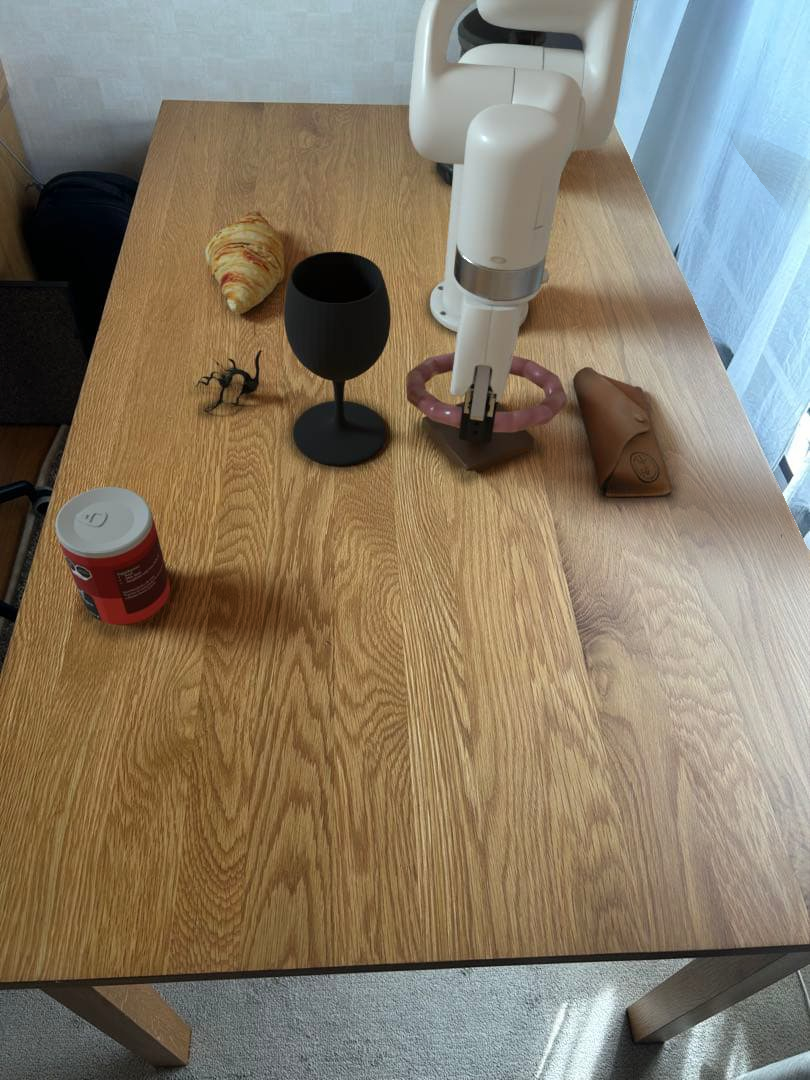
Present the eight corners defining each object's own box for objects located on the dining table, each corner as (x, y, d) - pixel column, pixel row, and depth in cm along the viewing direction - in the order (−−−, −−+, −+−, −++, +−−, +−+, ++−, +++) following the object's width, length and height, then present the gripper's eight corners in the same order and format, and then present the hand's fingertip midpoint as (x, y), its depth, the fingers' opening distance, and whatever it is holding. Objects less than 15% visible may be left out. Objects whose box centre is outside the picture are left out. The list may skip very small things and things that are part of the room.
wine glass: (399, 416, 102) (406, 260, 87) (367, 477, 95) (369, 320, 80) (314, 393, 104) (307, 237, 89) (277, 452, 97) (262, 294, 82)
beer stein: (485, 135, 147) (504, -38, 128) (575, 182, 139) (610, 4, 120) (411, 166, 140) (420, -14, 121) (501, 218, 131) (526, 33, 112)
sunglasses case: (678, 493, 95) (660, 454, 90) (615, 517, 97) (594, 480, 93) (640, 383, 107) (623, 344, 102) (584, 407, 109) (565, 369, 104)
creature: (189, 419, 102) (254, 418, 100) (172, 381, 98) (239, 379, 96) (213, 375, 107) (275, 374, 105) (197, 338, 103) (261, 336, 101)
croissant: (264, 344, 115) (291, 299, 109) (189, 312, 111) (212, 263, 105) (275, 250, 128) (299, 205, 123) (208, 218, 124) (230, 170, 119)
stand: (486, 402, 104) (496, 334, 97) (533, 449, 99) (547, 381, 92) (421, 427, 101) (426, 359, 94) (466, 477, 96) (475, 410, 89)
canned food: (90, 566, 86) (61, 487, 78) (175, 563, 87) (155, 484, 78) (78, 632, 81) (46, 555, 73) (168, 628, 82) (147, 551, 74)
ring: (463, 450, 86) (465, 431, 84) (377, 382, 97) (377, 364, 96) (596, 414, 93) (599, 396, 92) (501, 354, 104) (503, 338, 103)
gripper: (466, 211, 81) (449, 374, 95) (441, 315, 70) (427, 480, 84) (549, 222, 80) (520, 384, 94) (537, 328, 70) (506, 492, 84)
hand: (476, 428), depth 89 cm, fingers closed on ring, 2 cm apart
